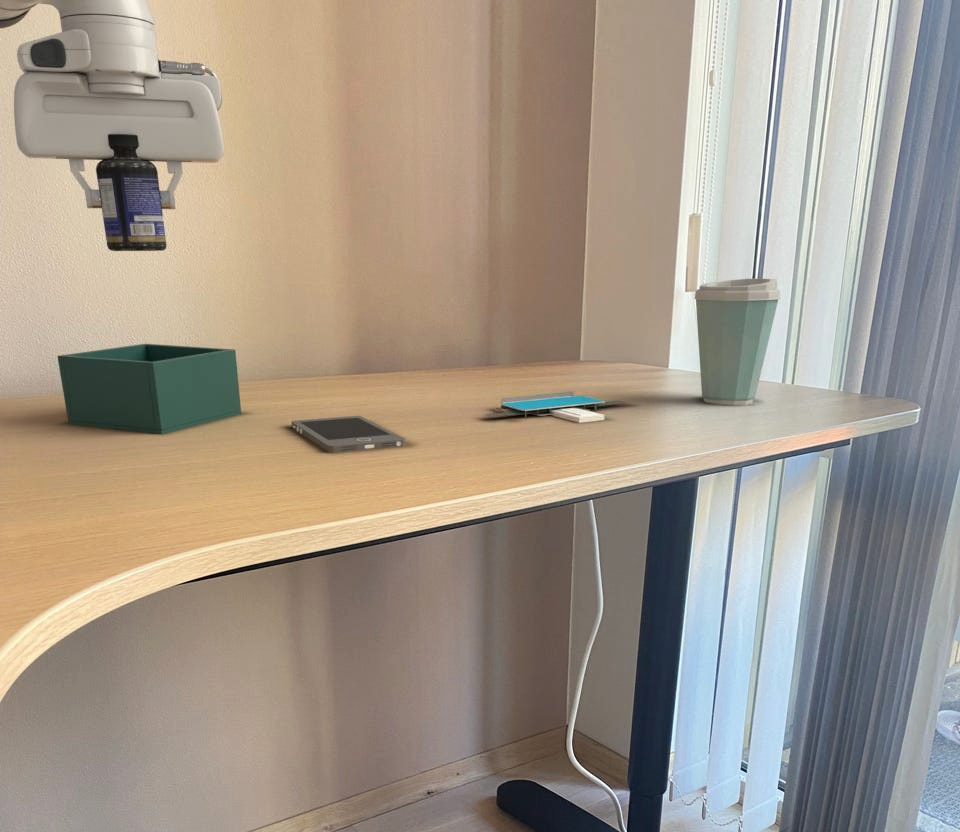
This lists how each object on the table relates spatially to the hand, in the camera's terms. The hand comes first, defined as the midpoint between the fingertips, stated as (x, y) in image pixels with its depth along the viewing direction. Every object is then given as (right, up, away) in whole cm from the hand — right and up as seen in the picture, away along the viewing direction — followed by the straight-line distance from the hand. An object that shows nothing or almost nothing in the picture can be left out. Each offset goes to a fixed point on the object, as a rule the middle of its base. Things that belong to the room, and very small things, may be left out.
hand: (131, 208), depth 101 cm
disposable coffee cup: (+69, -15, +23) cm, 74 cm away
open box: (0, -20, +10) cm, 22 cm away
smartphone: (+23, -24, +1) cm, 33 cm away
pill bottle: (0, -4, +2) cm, 4 cm away
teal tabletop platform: (+47, -19, +14) cm, 52 cm away
